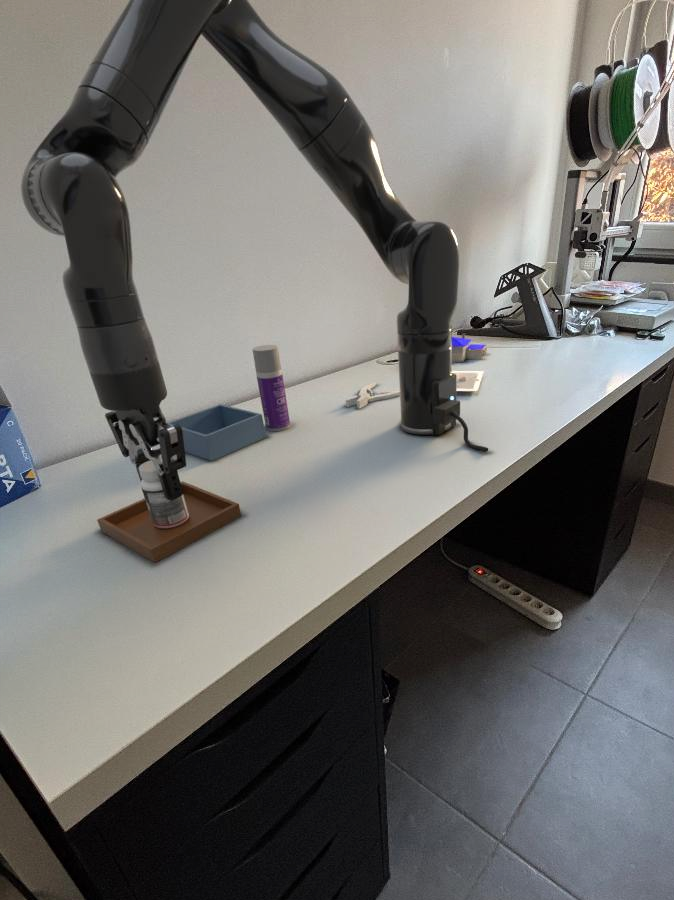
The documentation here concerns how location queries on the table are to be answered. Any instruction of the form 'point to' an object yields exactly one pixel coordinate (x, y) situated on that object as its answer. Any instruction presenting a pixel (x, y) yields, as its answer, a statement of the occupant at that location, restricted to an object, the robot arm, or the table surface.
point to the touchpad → (468, 380)
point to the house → (466, 349)
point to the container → (271, 387)
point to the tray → (158, 543)
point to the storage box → (220, 431)
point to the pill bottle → (161, 500)
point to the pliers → (365, 397)
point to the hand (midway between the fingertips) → (163, 491)
